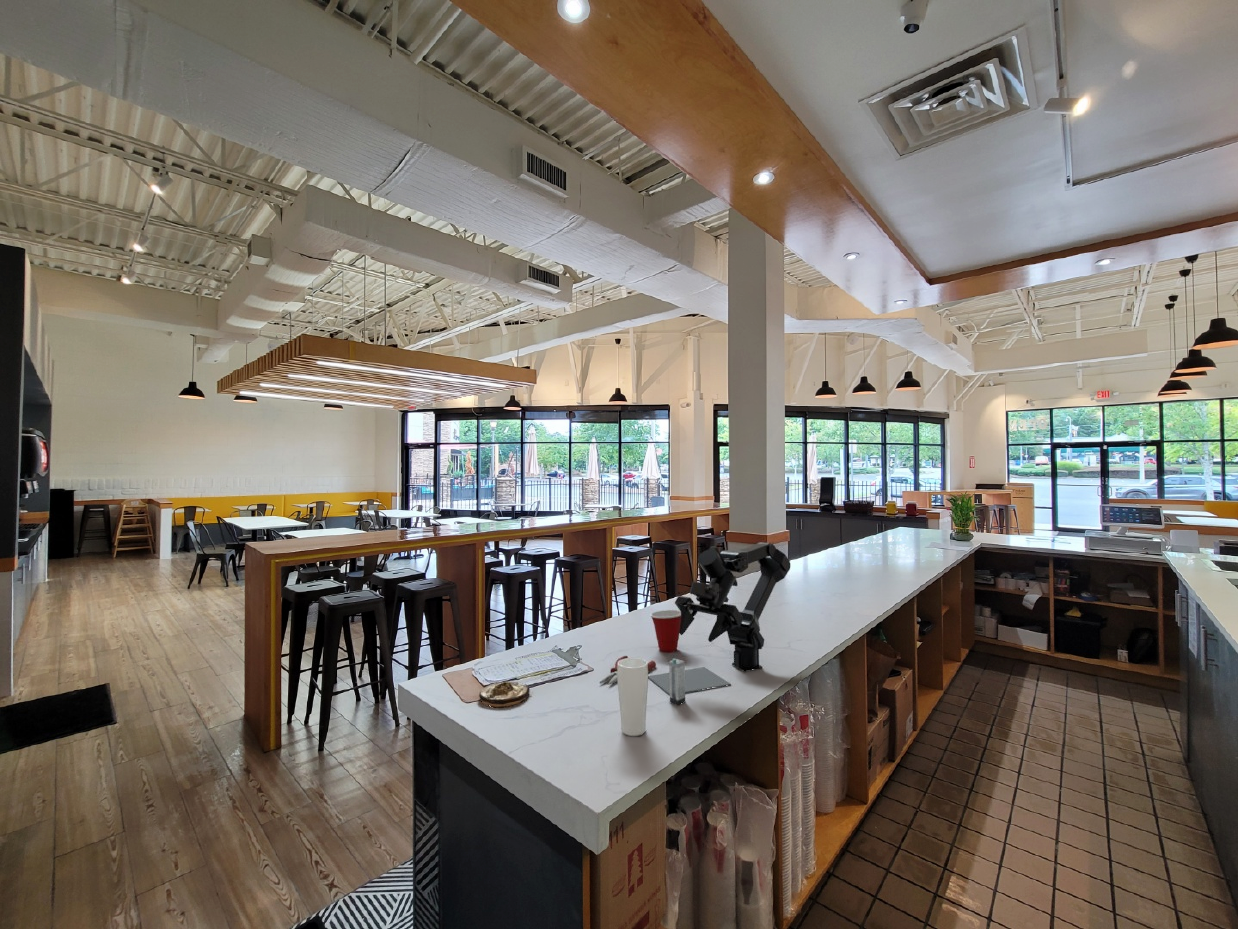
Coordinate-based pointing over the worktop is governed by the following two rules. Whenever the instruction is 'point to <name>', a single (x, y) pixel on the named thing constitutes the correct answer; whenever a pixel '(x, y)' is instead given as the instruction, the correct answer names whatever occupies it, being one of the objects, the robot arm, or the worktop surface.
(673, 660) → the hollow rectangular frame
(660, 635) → the plastic cup
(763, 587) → the robot arm
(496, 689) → the pie
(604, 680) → the pliers
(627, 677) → the white tumbler
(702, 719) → the worktop surface
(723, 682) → the mat
